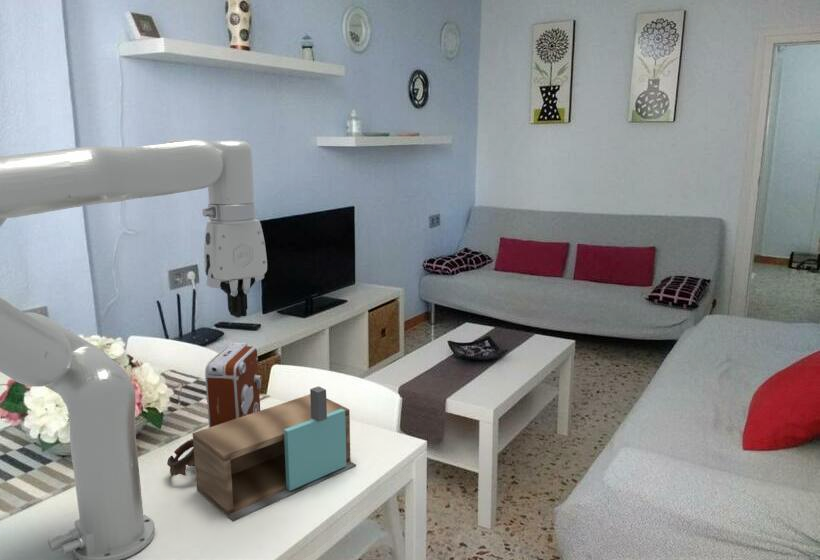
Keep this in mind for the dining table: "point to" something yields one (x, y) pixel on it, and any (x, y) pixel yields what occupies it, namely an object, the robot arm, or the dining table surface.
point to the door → (315, 443)
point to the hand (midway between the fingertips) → (238, 315)
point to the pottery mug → (180, 465)
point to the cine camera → (232, 384)
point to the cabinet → (253, 458)
